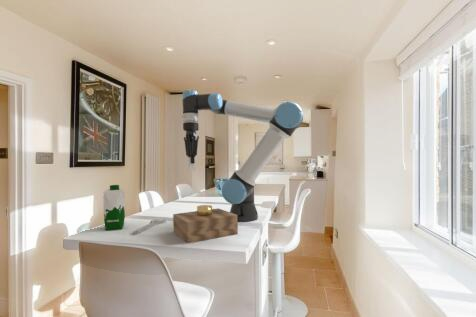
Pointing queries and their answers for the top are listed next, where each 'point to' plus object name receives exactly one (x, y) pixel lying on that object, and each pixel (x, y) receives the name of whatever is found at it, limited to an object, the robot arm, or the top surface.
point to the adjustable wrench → (149, 226)
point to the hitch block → (204, 225)
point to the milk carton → (114, 208)
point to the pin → (204, 210)
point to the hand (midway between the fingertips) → (191, 170)
